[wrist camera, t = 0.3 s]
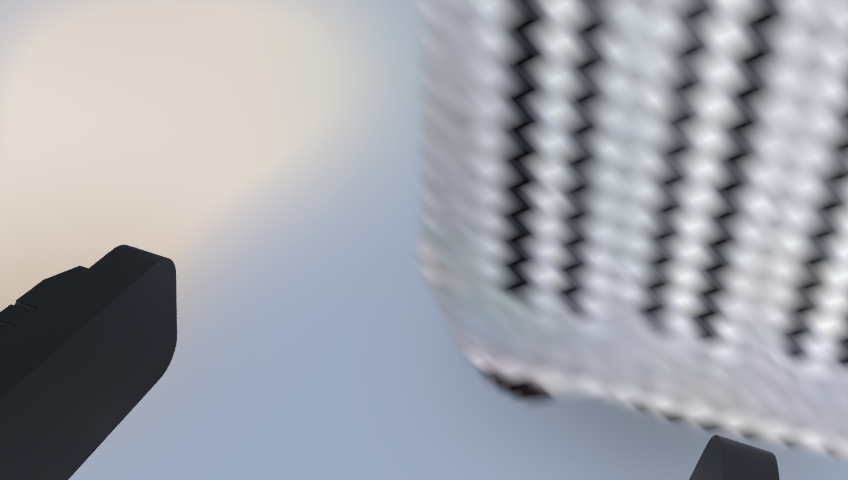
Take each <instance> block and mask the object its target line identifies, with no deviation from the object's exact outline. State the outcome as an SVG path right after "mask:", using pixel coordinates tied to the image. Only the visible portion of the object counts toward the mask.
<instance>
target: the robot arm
mask: <svg viewBox="0 0 848 480" xmlns="http://www.w3.org/2000/svg"><path fill="white" fill-rule="evenodd" d="M176 312H177V310H176V269H175V265H174V263H173V261H172V260H171V259H169V258H166V257H162V256H159V255H156V254H153V253H150V252H147V251H144V250H141V249H138V248H134V247H131V246H128V245H120V246H118V247H116V248H114V249H113V250H112V251H110V252H109V253H108V254H106V255H105V256H104V257H103V258H101V259H100V260H99V261H98V262H96V263H95V264H94V265H93V266H91V267H90V268H89V269H88V268H85V267H82V266H78V267H75V268H73V269H70V270H68V271H65V272H63V273H60V274H57V275H55V276H52V277H50V278H47V279H44V280H43V281H42V282H40V283H39V284H37V285H36V286H35V287H33V288H32V289H31V290H29V291H28V292H27V293H25V294H24V295H23V296H21V297H20V298H19V299H17V300H16V303H15V305H9V306H8V307H7V308H5V309H4V310H3V311H1V312H0V480H68V479H69V478H70V477H71V476H72V475H73V474H74V473H75V472H76V470H77V469H78V468H79V467H80V466H81V465H82V464H83V463H84V462H85V461H86V460H87V458H88V457H89V456H90V455H91V454H92V453H93V452H94V451H95V450H96V448H97V447H98V446H99V445H100V444H101V443H102V442H103V441H104V440H105V439H106V437H107V436H108V435H109V434H110V433H111V432H112V431H113V430H114V429H115V428H116V427H117V425H118V424H119V423H120V422H121V421H122V420H123V419H124V418H125V417H126V416H127V414H128V413H129V412H130V411H131V410H132V409H133V408H134V407H135V406H136V405H137V403H138V402H139V401H140V400H141V399H142V398H143V397H144V396H145V395H146V394H147V392H148V391H149V390H150V389H151V388H152V387H153V386H154V385H155V384H156V383H157V381H158V380H159V379H160V378H161V377H162V376H163V374H164V373H165V371H166V370H167V368H168V366H169V364H170V362H171V360H172V357H173V354H174V351H175V347H176V341H177V313H176ZM689 480H779V473H778V466H777V460H776V458H775V455H774V454H773V453H771V452H768V451H765V450H762V449H759V448H756V447H753V446H750V445H746V444H743V443H740V442H737V441H734V440H731V439H728V438H725V437H721V436H718V435H714V436H713V437H712V438H711V439H710V441H709V442H708V444H707V446H706V448H705V449H704V451H703V453H702V455H701V457H700V460H699V461H698V463H697V465H696V467H695V469H694V471H693V474H692V475H691V477H690V479H689Z"/></svg>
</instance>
